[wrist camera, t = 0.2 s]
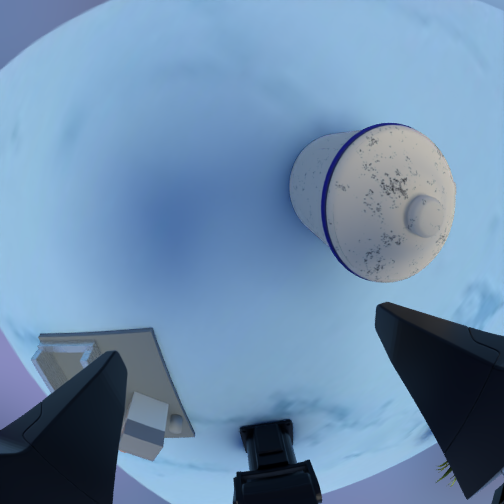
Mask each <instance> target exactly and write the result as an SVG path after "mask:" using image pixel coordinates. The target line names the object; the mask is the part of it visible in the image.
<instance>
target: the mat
mask: <svg viewBox="0 0 504 504" xmlns="http://www.w3.org/2000/svg"><path fill="white" fill-rule="evenodd" d="M39 340H40V342H41V341H71V340H96V342H97V344H98V346H99V349H100V351H101V353H102V354H103V353H105V352H106V351H113V350H116V351H118V352H119V354H120V356H121V358H122V360H123V362H124V364H125V366H126V368H127V372H128V376H127V388H126V401H125V411H124V418H123V423H122V428H123V424H124V420H125V416H126V413H127V409H128V407H129V404H130V402H131V399H132V397H133V394H134V392H138V393H140V394H143V395H145V396H148V397H151V398H153V399H156V400H159V401H161V402H164V403H167V404H169V406H168V413H167V420H166V428H165V435H164V438H179V437H195V433H194V430H193V428H192V426H191V424H190V422H189V420H188V418H187V415H186V413H185V411H184V409H183V406H182V404H181V402H180V399H179V397H178V395H177V392H176V390H175V388H174V385H173V383H172V380H171V378H170V375H169V373H168V370H167V368H166V365H165V362H164V360H163V357H162V354H161V352H160V349H159V346H158V343H157V340H156V338H155V335H154V332H153V329H152V328H145V329H134V330H121V331H106V332H88V333H64V334H40V335H39ZM52 353H53V355H54V357H55V359H56V361H57V362H58V364H59V366H60V368H61V370H62V371H63V373H64V375H65V376H66V378H67V380H69V379H71V378H72V377H73V376H75V375H76V374H77V373H79V372H80V371H81V370H82V369H84V368H83V366H82V365H81V363H80V359H81V358H82V356H83V354H84V352H77V353H65V352H52ZM172 414H179V415H181V416H182V418H183V420H182V432H181V433H179V434H174V433H172V432H170V431H169V426H170V418H171V415H172ZM121 432H122V429H121Z"/></svg>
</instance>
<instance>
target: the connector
mask: <svg viewBox="0 0 504 504" xmlns="http://www.w3.org/2000/svg"><path fill="white" fill-rule="evenodd" d="M168 406H169V404H167V403H164V402H161V401H159V400H156V399H153V398H151V397H148V396H145V395H143V394H140V393H138V392H134V394H133V397H132V399H131V402H130V404H129V407H128V409H127V413H126V416H125V420H124V424H123V428H122V432H121V436H120V442H119V449H118V450H121V451H124V452H127V453H129V454H132V455H135V456H138V457H141V458H144V459H147V460H151V461H154V459H155V458H156V456H157V455H158V454H159V452H160V451H161V449H162V448H163V444H164V435H165V428H166V420H167V413H168Z"/></svg>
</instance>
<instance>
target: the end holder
mask: <svg viewBox="0 0 504 504" xmlns="http://www.w3.org/2000/svg"><path fill="white" fill-rule="evenodd" d="M52 352H65V353H77V352H84V354H83V356H82V358H81V359H80V363H81V365H82V366H83V368H85V367H86V366H88V365H89V364H90V363H92V362H93V361H94V360H95V359H97V358H98V357H99V356H101V355H102V353H101V351H100V349H99V346H98V344H97V342H96V340H71V341H41V342H40V343H39V345H38V350H37V351H36V353H35V354H34V355H33V357H32V358H31V361H32V362H33V364H34V366H35V368H36V369H37V371H38V373H39V374H40V376H41V378H42V379H43V381H44V383H45V384H46V386H47V387H48V389H49V390H50V392H51V393H53V392H54V391H55V390H57V389H58V388H59V387H60V386H62V385H63V384H64V383H66V382H67V381H68V380H67V378H66V376H65V375H64V373H63V371H62V370H61V368H60V366H59V364H58V362H57V361H56V359H55V357H54V355H53V353H52Z"/></svg>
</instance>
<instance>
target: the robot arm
mask: <svg viewBox="0 0 504 504" xmlns="http://www.w3.org/2000/svg"><path fill="white" fill-rule="evenodd" d="M375 329H376V332H377V334H378V336H379V338H380V340H381V342H382V344H383V346H384V348H385V350H386V352H387V355H388V357H389V359H390V361H391V363H392V364H393V366H394V368H395V370H396V371H397V373H398V374H399V376H400V378H401V379H402V381H403V383H404V384H405V386H406V388H407V389H408V391H409V393H410V394H411V396H412V398H413V399H414V401H415V403H416V405H417V406H418V408H419V410H420V411H421V413H422V415H423V417H424V418H425V420H426V422H427V424H428V426H429V427H430V429H431V431H432V433H433V435H434V436H435V438H436V440H437V442H438V444H439V445H440V447H441V449H442V451H443V453H445V454H444V455H445V457H446V459H447V461H448V463H449V465H450V467H451V469H452V471H453V473H454V475H455V477H456V479H457V481H458V483H459V485H460V487H461V489H462V491H463V493H464V495H465V497H466V499H467V500H468V499H469V498H471V497H472V496H473V495H475V494H476V493H478V492H479V491H480V490H482V489H483V488H484V487H486V486H487V485H488V484H490V483H491V482H492V481H493V480H495V479H496V478H497V477H498V476H499V475H501V474H503V476H504V336H501V335H496V334H492V333H488V332H484V331H481V330H477V329H474V328H471V327H467V326H464V325H461V324H458V323H454V322H451V321H448V320H445V319H441V318H438V317H435V316H432V315H428V314H425V313H422V312H419V311H416V310H412V309H409V308H406V307H403V306H400V305H396V304H393V303H390V302H385V303H381V304H378V305H377V307H376V317H375ZM127 376H128V372H127V368H126V366H125V364H124V362H123V360H122V358H121V356H120V354H119V352H118V351H116V350H113V351H106V352H105V353H103V354H102V355H101V356H99V357H98V358H97V359H95V360H94V361H93V362H92V363H90V364H89V365H88V366H86V367H85V368H84V369H82V370H81V371H80V372H79V373H77V374H76V375H75V376H73V377H72V378H71V379H69V380H68V381H67V382H66V383H64V384H63V385H62V386H60V387H59V388H58V389H57V390H55V391H54V392H53V393H51V394H50V395H49V396H48V397H46V398H45V399H44V400H43V401H42V402H40V403H39V404H37V405H36V406H35V407H33V408H32V409H31V410H29V411H28V412H27V413H25V414H24V415H23V416H21V417H20V418H18V419H17V420H15V421H14V422H12V423H11V424H9V425H8V426H6V427H5V428H3V429H2V430H0V504H112V503H113V491H114V481H115V472H116V464H117V456H118V449H119V442H120V436H121V429H122V423H123V418H124V411H125V401H126V388H127ZM240 434H241V437H242V441H243V444H244V448H245V451H246V453H247V454H248V462H249V470H250V471H246V472H236V474H237V477H235V478H233V479H234V496H233V504H319V503H322V496H321V490H320V486H319V483H318V480H317V478H316V475H315V472H314V470H313V467H312V465H311V462H310V460H305V461H304V462H300V463H297V461H296V458H295V454H294V450H293V446H292V445H293V426H292V421H291V420H285V421H280V422H274V423H268V424H262V425H255V426H247V427H241V428H240ZM492 504H504V483H503V484H502V485H501V486H500V487H499V488H498V489H496V490H495V493H494V497H493V501H492Z"/></svg>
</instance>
